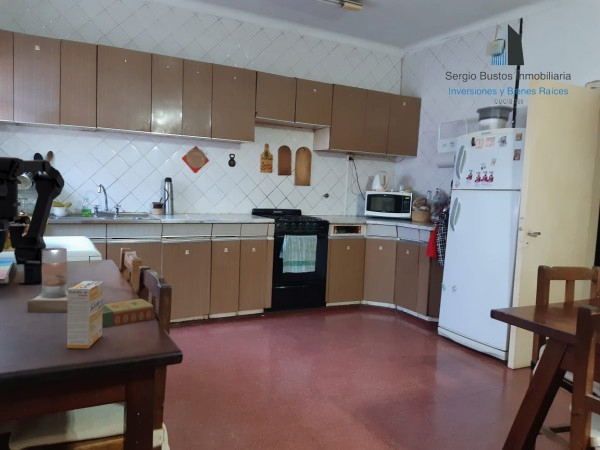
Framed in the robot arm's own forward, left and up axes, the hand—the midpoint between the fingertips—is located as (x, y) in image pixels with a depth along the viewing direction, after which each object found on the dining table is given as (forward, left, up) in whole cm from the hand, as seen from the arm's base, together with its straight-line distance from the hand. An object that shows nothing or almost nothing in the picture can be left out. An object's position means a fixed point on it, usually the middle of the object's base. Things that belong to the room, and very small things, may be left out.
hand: (7, 250), depth 135 cm
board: (+16, +19, -13) cm, 28 cm away
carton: (+28, +38, -14) cm, 49 cm away
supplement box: (+44, +35, -13) cm, 58 cm away
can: (+16, +19, -10) cm, 27 cm away
